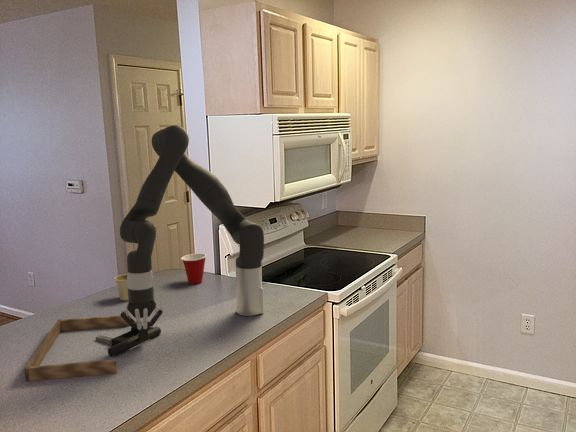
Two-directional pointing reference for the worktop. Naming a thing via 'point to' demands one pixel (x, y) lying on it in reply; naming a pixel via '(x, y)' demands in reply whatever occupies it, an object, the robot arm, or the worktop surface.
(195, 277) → the plastic cup
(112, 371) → the box
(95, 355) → the worktop surface
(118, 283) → the flower pot
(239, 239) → the robot arm
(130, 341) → the door handle
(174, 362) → the worktop surface
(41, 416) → the worktop surface
